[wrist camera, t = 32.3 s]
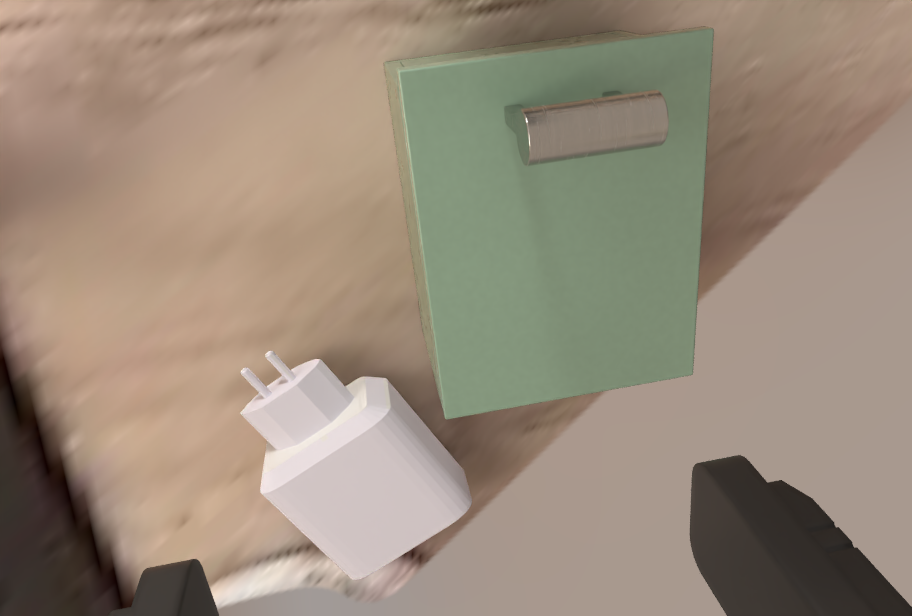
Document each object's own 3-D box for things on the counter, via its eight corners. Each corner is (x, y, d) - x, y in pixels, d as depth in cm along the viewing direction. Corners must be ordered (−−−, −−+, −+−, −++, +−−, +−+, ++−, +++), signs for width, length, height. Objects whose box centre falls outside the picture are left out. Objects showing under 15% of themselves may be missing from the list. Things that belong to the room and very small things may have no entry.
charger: (323, 297, 42) (462, 463, 48) (197, 383, 43) (349, 534, 49) (322, 333, 38) (474, 510, 44) (182, 428, 39) (351, 587, 45)
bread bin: (383, 61, 37) (397, 86, 29) (620, 30, 38) (696, 45, 30) (422, 331, 44) (443, 410, 36) (623, 297, 45) (686, 366, 37)
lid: (396, 67, 28) (410, 94, 23) (705, 25, 29) (779, 43, 25) (443, 411, 36) (461, 483, 31) (686, 367, 37) (739, 430, 32)
